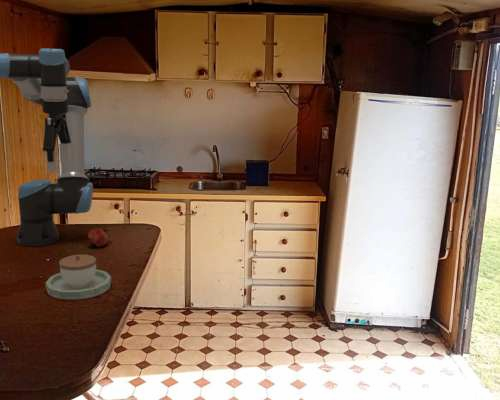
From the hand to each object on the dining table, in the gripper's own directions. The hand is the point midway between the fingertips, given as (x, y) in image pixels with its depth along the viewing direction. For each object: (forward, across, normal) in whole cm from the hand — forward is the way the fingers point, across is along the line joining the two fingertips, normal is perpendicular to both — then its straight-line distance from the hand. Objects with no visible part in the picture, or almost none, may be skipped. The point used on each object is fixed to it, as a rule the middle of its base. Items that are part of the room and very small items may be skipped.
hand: (58, 167), depth 169 cm
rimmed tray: (+33, -18, -10) cm, 39 cm away
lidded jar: (+33, -18, -9) cm, 38 cm away
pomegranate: (+35, +21, -6) cm, 41 cm away
